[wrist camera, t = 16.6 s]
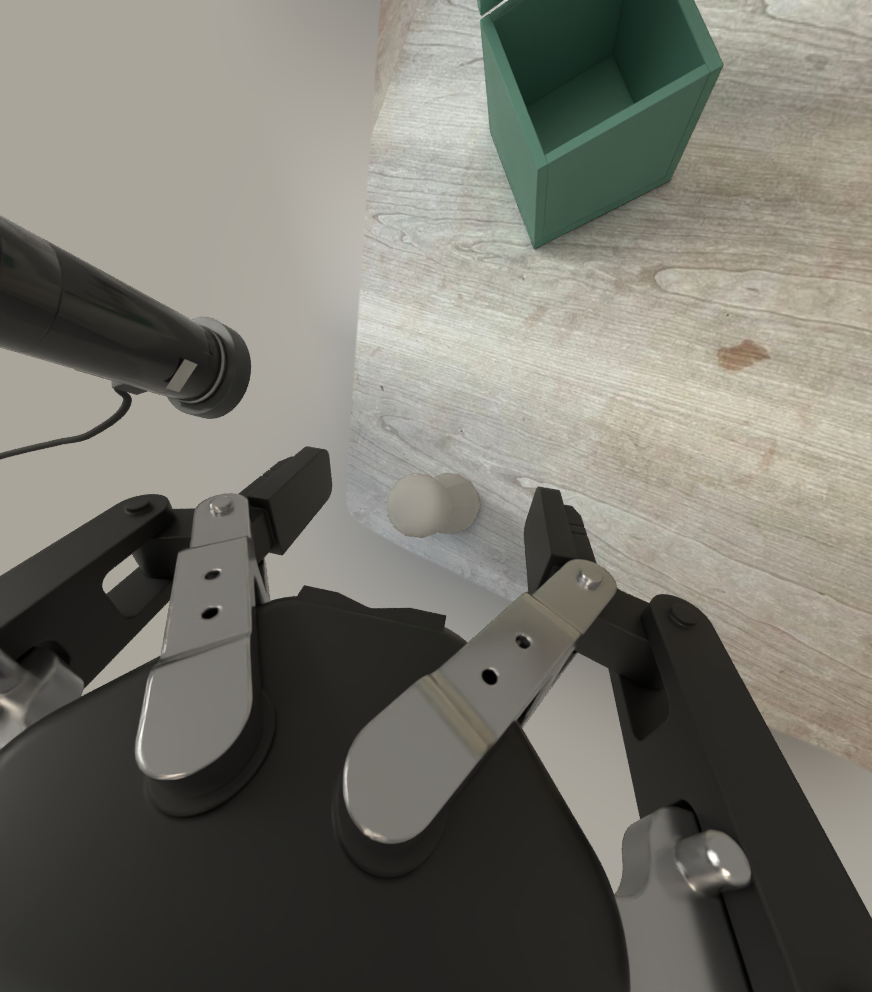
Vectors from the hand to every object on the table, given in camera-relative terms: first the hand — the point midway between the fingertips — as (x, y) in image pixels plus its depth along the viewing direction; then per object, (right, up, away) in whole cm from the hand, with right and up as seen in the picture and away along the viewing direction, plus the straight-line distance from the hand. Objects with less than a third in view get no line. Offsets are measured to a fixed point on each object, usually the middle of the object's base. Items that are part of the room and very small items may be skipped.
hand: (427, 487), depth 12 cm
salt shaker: (+2, -1, +21) cm, 21 cm away
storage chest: (+13, +32, +18) cm, 39 cm away
